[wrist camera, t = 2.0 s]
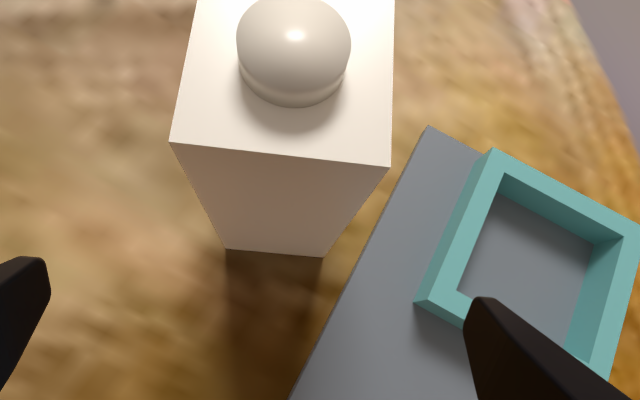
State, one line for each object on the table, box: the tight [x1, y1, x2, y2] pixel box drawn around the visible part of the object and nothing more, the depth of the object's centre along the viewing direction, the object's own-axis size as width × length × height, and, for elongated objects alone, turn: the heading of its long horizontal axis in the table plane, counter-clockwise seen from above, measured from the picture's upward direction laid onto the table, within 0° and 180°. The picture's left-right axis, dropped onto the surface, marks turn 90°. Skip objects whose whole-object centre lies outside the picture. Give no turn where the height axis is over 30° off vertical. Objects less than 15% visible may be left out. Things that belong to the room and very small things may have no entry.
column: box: [169, 0, 395, 258], centre depth 16 cm, size 5×5×13 cm
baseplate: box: [287, 125, 640, 400], centre depth 20 cm, size 19×12×3 cm, turn 152°
